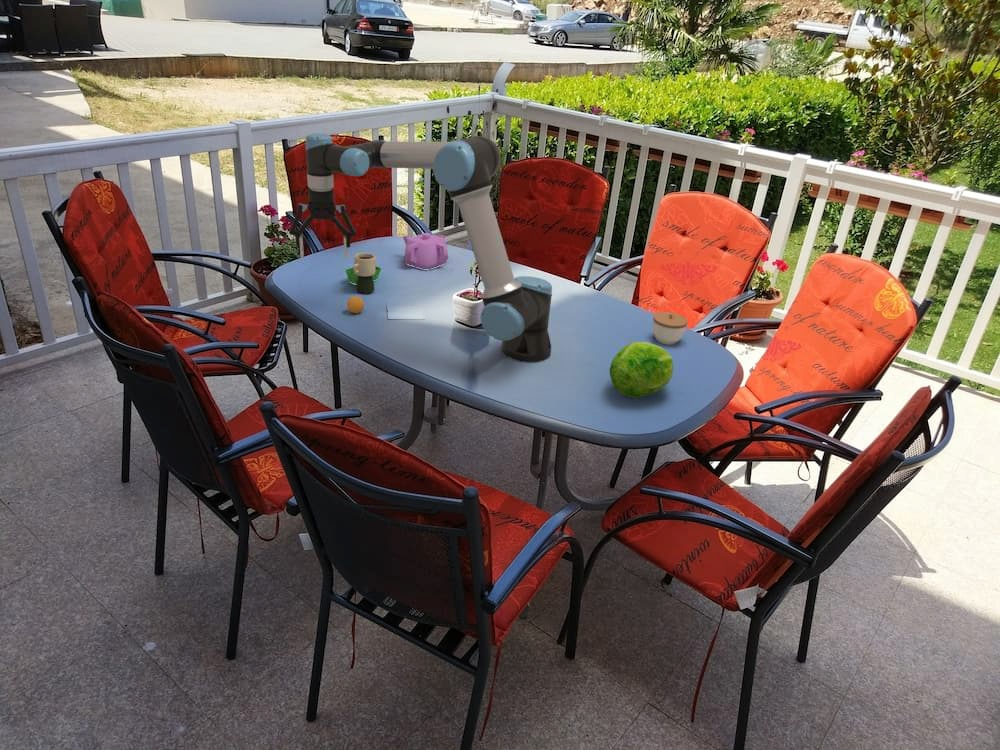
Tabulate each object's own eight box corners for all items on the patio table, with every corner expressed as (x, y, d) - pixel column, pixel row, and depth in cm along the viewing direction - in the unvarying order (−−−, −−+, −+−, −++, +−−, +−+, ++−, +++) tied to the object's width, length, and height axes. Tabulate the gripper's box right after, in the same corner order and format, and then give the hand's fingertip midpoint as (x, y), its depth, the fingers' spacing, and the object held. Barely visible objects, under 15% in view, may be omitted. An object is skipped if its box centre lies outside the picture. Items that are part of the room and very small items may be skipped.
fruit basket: (367, 276, 262) (366, 246, 256) (384, 282, 257) (384, 252, 252) (344, 283, 253) (343, 253, 248) (362, 290, 249) (361, 259, 244)
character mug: (368, 284, 254) (367, 250, 247) (383, 289, 250) (383, 254, 244) (347, 293, 245) (345, 257, 239) (362, 298, 242) (361, 262, 236)
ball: (366, 314, 231) (366, 298, 228) (350, 316, 228) (350, 301, 225) (360, 308, 235) (360, 292, 232) (344, 310, 232) (344, 295, 229)
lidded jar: (661, 330, 236) (666, 304, 231) (689, 342, 229) (695, 315, 225) (643, 338, 229) (647, 312, 224) (670, 350, 222) (676, 323, 218)
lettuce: (630, 364, 209) (676, 389, 202) (590, 390, 193) (639, 418, 186) (644, 321, 201) (693, 345, 194) (603, 345, 185) (655, 373, 178)
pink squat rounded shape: (406, 271, 268) (407, 240, 263) (402, 257, 283) (402, 227, 277) (450, 271, 272) (452, 240, 266) (444, 257, 287) (445, 227, 281)
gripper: (362, 186, 216) (364, 253, 226) (279, 183, 212) (284, 252, 222) (362, 192, 210) (364, 261, 220) (276, 190, 205) (281, 260, 215)
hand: (324, 256), depth 221 cm, fingers open, 12 cm apart
